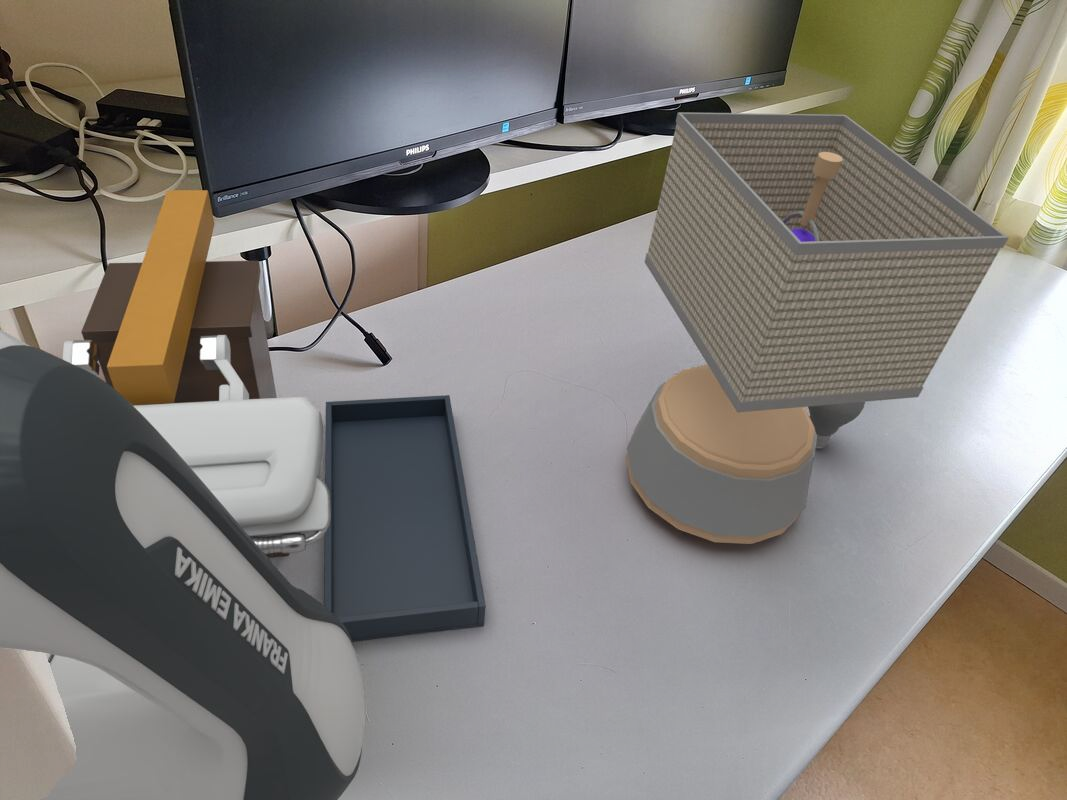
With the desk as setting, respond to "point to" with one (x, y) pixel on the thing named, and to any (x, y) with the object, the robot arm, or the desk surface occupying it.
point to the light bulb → (832, 419)
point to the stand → (198, 329)
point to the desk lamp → (790, 306)
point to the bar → (163, 301)
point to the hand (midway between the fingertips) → (150, 340)
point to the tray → (398, 520)
